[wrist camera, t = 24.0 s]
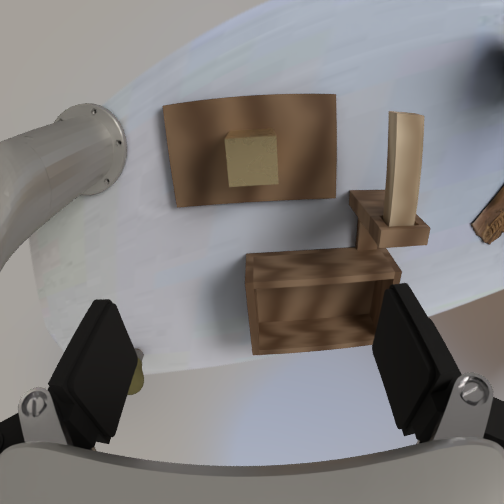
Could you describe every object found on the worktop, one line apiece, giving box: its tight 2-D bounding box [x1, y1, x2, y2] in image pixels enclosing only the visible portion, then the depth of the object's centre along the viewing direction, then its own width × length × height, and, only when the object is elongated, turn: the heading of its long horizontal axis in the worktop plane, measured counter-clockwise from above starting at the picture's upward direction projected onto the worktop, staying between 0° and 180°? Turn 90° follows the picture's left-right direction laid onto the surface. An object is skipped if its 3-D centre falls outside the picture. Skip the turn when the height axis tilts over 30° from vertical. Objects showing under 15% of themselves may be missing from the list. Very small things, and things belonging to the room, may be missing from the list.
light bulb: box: [127, 349, 144, 395], centre depth 50 cm, size 6×6×10 cm
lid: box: [163, 94, 337, 207], centre depth 34 cm, size 20×13×8 cm, turn 94°
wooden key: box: [383, 111, 424, 248], centre depth 29 cm, size 3×14×2 cm, turn 4°
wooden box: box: [245, 190, 430, 355], centre depth 40 cm, size 20×22×12 cm
